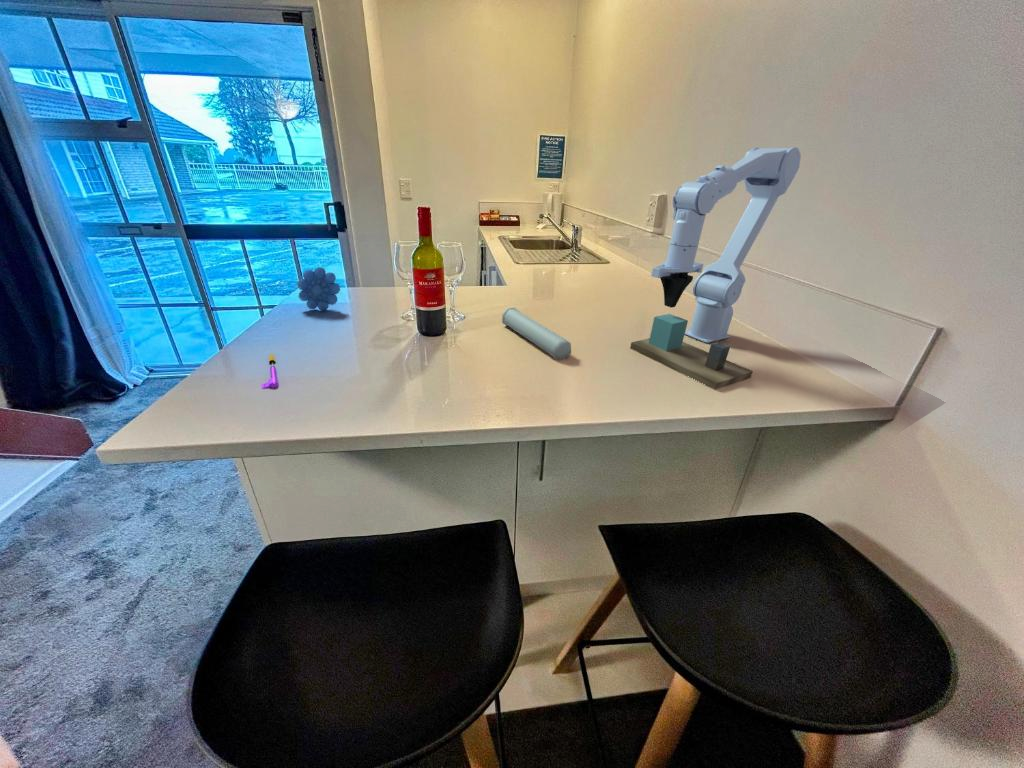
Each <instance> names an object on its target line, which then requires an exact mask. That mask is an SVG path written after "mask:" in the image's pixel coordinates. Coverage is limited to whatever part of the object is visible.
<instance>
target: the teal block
mask: <svg viewBox="0 0 1024 768" xmlns="http://www.w3.org/2000/svg"><path fill="white" fill-rule="evenodd" d="M688 323H689V320H688V319H685V318H682V317H680V316H677V315H674V314H671V313H668V314H661V315H657V316H654V317H653V322H652V327H651V330H650V335H649V338H650V339H649V338H648V339H649V344H651V345H653V346H656V347H658V348H660V349H662V350H664V351H669V350H673V349H677V348H681V346H682V342H684V338H685V331H686V330H687V326H688Z"/></svg>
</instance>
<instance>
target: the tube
mask: <svg viewBox="0 0 1024 768" xmlns="http://www.w3.org/2000/svg"><path fill="white" fill-rule="evenodd" d="M501 323H502V324H503V325H505V326H506V327H509V328H510V329H513V330H514V331H515V332H516V333H518V334H519V335H521V337H524V338H525V339H527V340H528V341H530V342H532V343H533V344H534V345H536V346H537V347H538V348H541V350H543V351H544V352H546V353H547V354H549V355H550V356H552V357H554V358H555V359H557V360H564V359H566V358H568V357H569V356H570V355H571V354H572V344H571V341H569V340H568V339H566V338H564V337H563V336H561V335H560V334H557V333H556V332H554V331H553V330H551V329H549V328H548V327H546V326H544V325H542V324H541V323H539V322H537V321H536V320H534V319H532V318H530V317H529V316H527V315H525V314H524V313H523V312H521V311H519V310H518V309H517V308H516V307H507V308H506V309H505V310H504V312H503V313H502V317H501Z"/></svg>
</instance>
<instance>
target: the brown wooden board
mask: <svg viewBox="0 0 1024 768" xmlns="http://www.w3.org/2000/svg"><path fill="white" fill-rule="evenodd" d="M649 339H650V337H649V338H644V339H640V340H636V341H631V343H630V347H629V348H630V349H632V350H633V351H635V352H637V353H639V354H642V355H644V356H646V357H647V358H650V359H652V360H653V361H655V362H657V363H660V364H662V365H663V366H666V367H668V368H669V369H672V370H673V371H676V372H677V373H680V374H682V375H684V376H686V377H688V376H689V377H688V378H691V379H692V378H693V379H692V380H694V379H695V380H694V381H696V380H697V381H696V382H698V381H699V383H700V382H701V383H700V384H702V383H703V385H704V384H705V385H704V386H706V385H707V386H706V387H708V388H710V389H712V390H714V391H715V390H720V389H722V388H724V387H728V386H730V385H734V384H737V383H740V382H742V381H745V380H748V379H751V378H752V376H753V373H754V371H753V370H752V369H751V370H750V369H749V368H746V367H744V366H741V365H739V364H737V363H734V362H732V361H729V360H728V359H726V362H725V365H724V368H723V369H720V370H717V371H714V370H712V369H710V368H708V367H706V366H705V363H706V360H707V357H708V353H709V351H706V350H704V349H702V348H699V347H696V346H694V345H691V344H689V343H687V342H685V341H683V342H682V346H681V348H677V349H673V350H669V351H664V350H662V349H660V348H658V347H656V346H653V345H651V344H649Z"/></svg>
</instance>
